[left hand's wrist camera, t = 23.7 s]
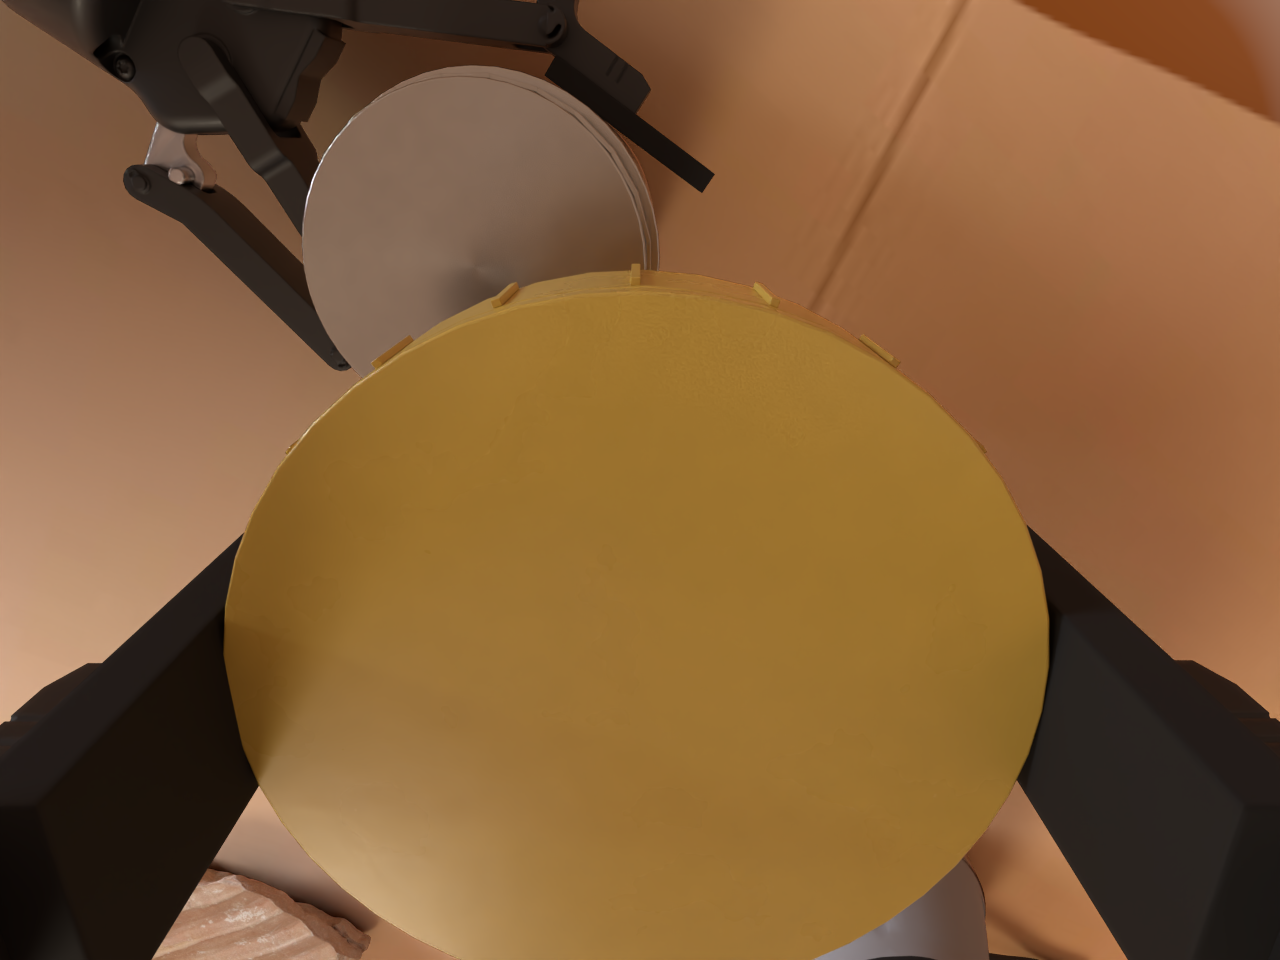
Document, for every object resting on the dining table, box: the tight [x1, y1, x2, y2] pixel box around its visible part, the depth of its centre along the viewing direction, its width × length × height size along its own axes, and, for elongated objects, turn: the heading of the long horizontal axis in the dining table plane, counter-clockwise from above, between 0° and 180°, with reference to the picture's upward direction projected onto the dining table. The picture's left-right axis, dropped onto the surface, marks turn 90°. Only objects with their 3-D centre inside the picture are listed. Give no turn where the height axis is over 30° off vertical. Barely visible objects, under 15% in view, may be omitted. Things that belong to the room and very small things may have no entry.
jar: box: [302, 65, 660, 378], centre depth 28 cm, size 9×9×17 cm
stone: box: [152, 869, 371, 960], centre depth 51 cm, size 13×12×3 cm
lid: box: [223, 264, 1049, 960], centre depth 11 cm, size 10×10×2 cm
